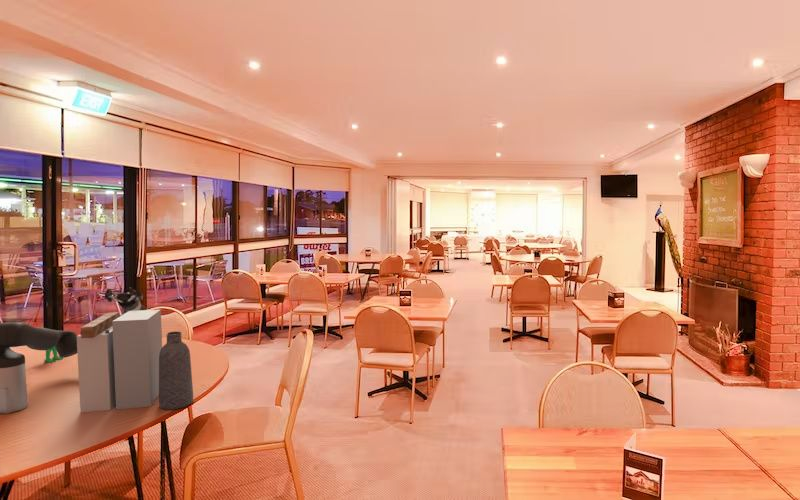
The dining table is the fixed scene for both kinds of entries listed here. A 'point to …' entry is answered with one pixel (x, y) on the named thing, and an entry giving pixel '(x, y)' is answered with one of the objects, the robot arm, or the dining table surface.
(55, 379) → the dining table surface
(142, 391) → the stand
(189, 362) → the vase
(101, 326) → the batten
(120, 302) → the robot arm
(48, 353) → the toy
